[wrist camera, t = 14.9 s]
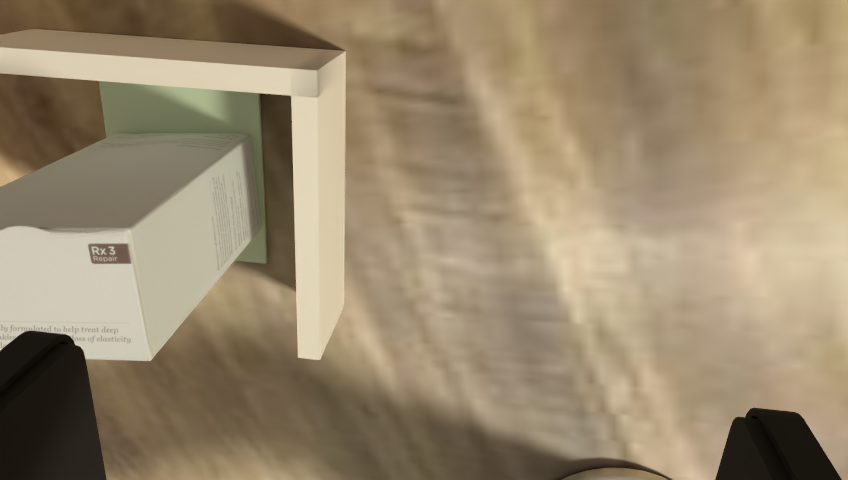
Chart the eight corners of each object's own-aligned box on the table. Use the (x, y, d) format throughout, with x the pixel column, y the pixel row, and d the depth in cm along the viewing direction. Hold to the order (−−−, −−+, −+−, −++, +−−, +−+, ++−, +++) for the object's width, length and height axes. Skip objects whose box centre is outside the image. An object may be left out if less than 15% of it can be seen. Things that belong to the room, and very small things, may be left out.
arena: (344, 305, 42) (320, 360, 36) (75, 278, 43) (13, 327, 38) (345, 50, 36) (317, 70, 30) (33, 28, 37) (-49, 43, 32)
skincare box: (134, 224, 41) (-50, 364, 27) (114, 125, 38) (-98, 224, 25) (270, 228, 40) (150, 375, 26) (259, 126, 38) (121, 230, 24)
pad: (267, 261, 41) (266, 263, 41) (124, 247, 42) (121, 249, 42) (259, 77, 37) (257, 78, 37) (99, 65, 37) (96, 66, 37)
